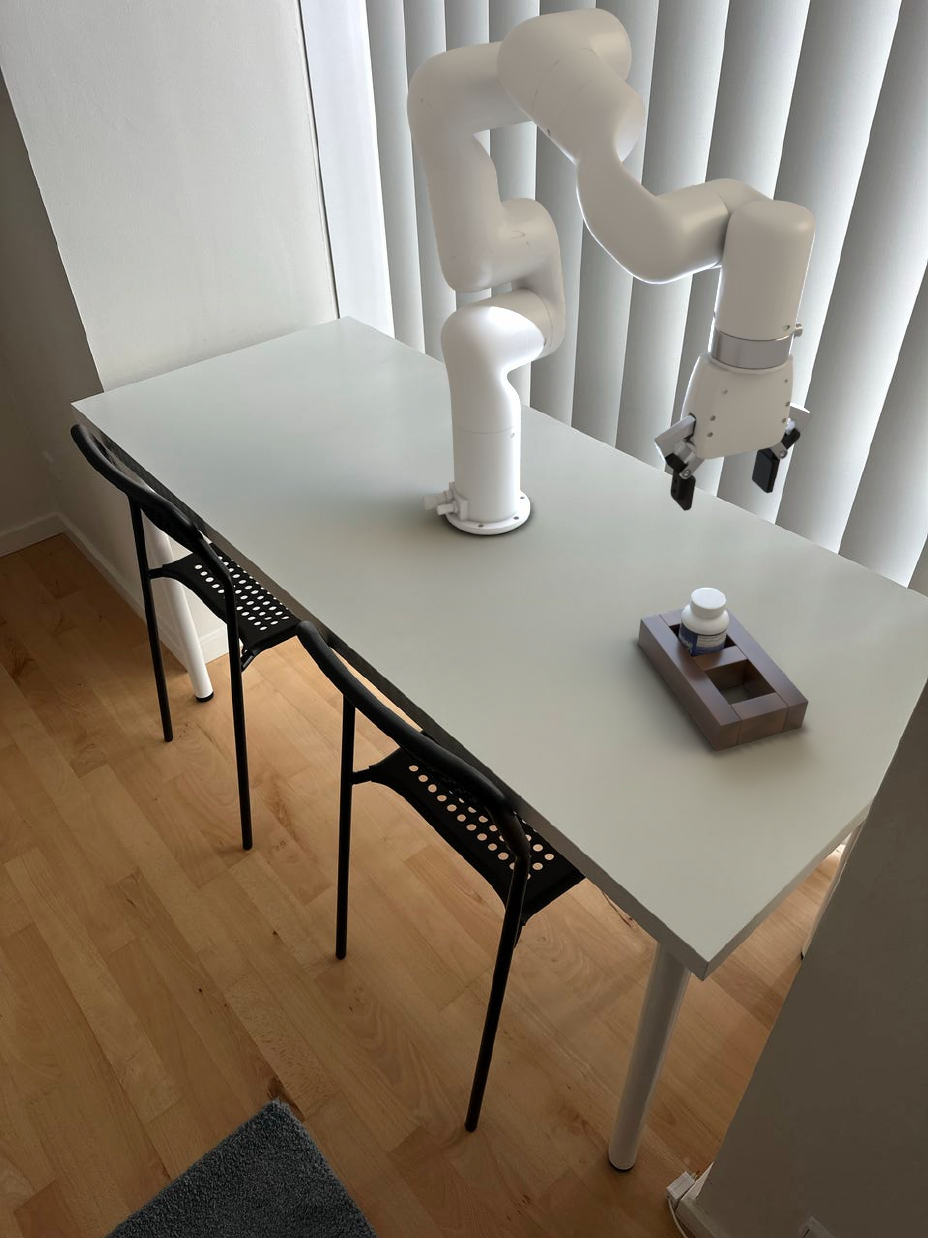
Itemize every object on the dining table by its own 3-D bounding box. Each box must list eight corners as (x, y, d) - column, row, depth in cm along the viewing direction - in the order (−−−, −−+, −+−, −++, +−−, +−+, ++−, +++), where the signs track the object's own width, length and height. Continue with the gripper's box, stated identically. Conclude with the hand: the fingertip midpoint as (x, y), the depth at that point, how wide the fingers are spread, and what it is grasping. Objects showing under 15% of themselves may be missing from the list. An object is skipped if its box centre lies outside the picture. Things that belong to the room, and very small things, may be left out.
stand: (715, 751, 104) (721, 726, 101) (637, 643, 118) (640, 618, 115) (801, 727, 106) (809, 701, 103) (714, 623, 120) (719, 599, 117)
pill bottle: (670, 647, 117) (679, 585, 111) (713, 644, 117) (724, 581, 111) (681, 677, 113) (691, 614, 106) (726, 674, 113) (738, 610, 107)
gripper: (806, 314, 95) (773, 463, 106) (649, 340, 91) (632, 491, 102) (852, 345, 89) (812, 498, 100) (687, 374, 85) (664, 530, 96)
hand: (721, 494), depth 101 cm, fingers open, 9 cm apart
